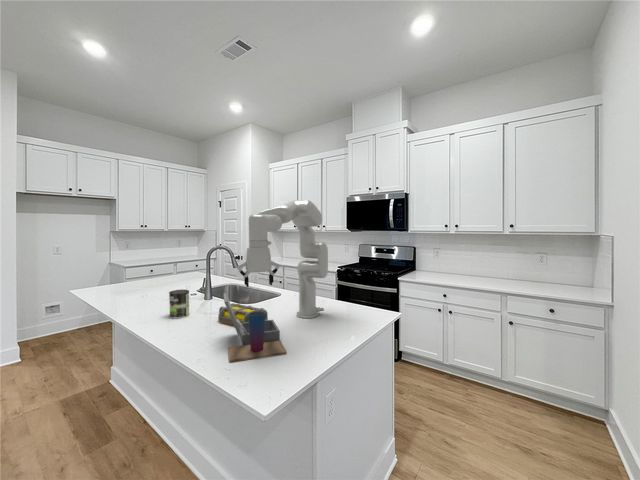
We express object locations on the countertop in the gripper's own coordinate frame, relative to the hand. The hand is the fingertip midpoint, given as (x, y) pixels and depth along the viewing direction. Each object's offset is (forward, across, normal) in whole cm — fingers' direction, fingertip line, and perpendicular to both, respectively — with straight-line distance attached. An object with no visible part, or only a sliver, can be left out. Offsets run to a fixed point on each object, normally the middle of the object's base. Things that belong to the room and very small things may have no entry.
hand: (259, 285), depth 120 cm
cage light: (+27, +4, -35) cm, 45 cm away
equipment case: (+27, 0, -11) cm, 29 cm away
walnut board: (+26, +2, +4) cm, 27 cm away
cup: (+26, +2, +4) cm, 26 cm away
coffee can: (+27, +37, -58) cm, 74 cm away
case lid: (+14, +10, -11) cm, 21 cm away
